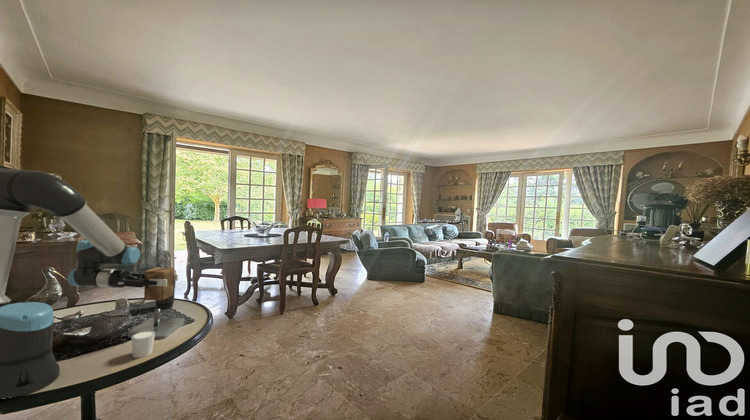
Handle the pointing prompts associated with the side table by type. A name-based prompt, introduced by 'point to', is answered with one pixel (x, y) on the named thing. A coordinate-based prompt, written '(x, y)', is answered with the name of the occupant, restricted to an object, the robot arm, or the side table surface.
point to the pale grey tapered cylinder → (142, 343)
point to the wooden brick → (159, 291)
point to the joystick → (158, 325)
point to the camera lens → (166, 302)
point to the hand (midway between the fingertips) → (172, 280)
